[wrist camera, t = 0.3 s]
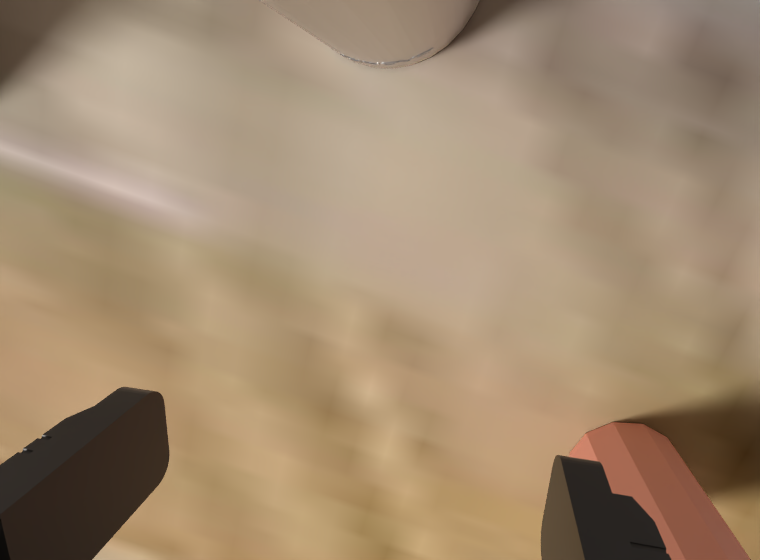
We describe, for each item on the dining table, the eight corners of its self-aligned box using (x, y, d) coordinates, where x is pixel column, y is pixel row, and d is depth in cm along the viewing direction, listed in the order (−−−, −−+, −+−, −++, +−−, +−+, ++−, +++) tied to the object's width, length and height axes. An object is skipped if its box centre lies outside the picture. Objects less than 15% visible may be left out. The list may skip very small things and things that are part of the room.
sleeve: (572, 419, 29) (647, 609, 17) (684, 425, 28) (840, 629, 16) (565, 506, 30) (628, 729, 19) (670, 514, 29) (803, 754, 18)
